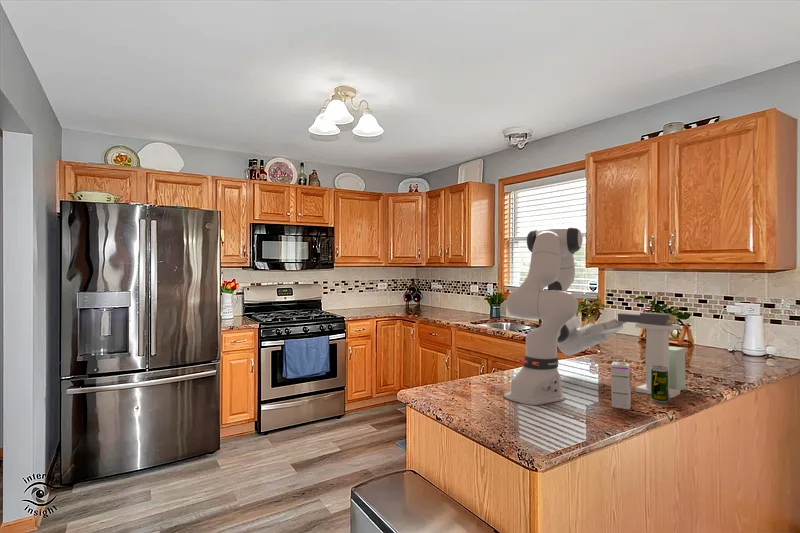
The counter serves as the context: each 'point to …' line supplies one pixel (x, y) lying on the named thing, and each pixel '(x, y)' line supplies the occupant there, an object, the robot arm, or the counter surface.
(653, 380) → the beer can
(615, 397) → the syrup box
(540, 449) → the counter surface
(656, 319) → the grey boxy piece
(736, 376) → the counter surface
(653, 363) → the tall shelf
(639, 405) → the counter surface
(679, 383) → the socket block
